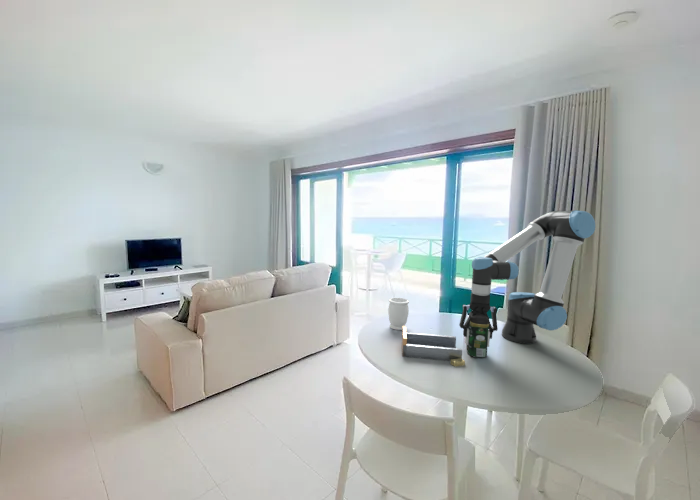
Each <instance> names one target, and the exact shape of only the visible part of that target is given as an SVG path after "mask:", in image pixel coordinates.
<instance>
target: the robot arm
mask: <svg viewBox="0 0 700 500" xmlns="http://www.w3.org/2000/svg"><path fill="white" fill-rule="evenodd" d="M595 221H596V220H595V218H594V217H593V215H592V214H591V213H590V212H589V211H585V210H577V209H575V210H553V211H549V212H547V213H544V214H543V215H540V216H538V217H537V218H535V219H534V220H532V221H530V222H529V223H528V224H527V225H526V228H524V229H523V230H522V231H519V232H517V234H515V235H514V236H512V237H511V238H509V239H508V240H506V241H505V242H503V243H502V244H501V245H499V246H497V247H496V248H495V249H493V250H492V251H490V252H489V253H487V254H486V255H484V256H477V257H474V259H473V260H471V261H472V262H471V268H472V274H471V275H472V277H471V293H470V303H469V304H467V305H466V304H462V313H461V316H460V317H461V318H460V320H459V327H460V328H461V329H463V331H462V332H463V333H462V334H463V337H464V343H465V345H466V346H467V345H468V340H469V329H468V327H469V325H470V317H469V316H468V317H467V313H468V311H469V309H470V310H471V311H470V312H471V313H470V312H469V313H470V314H471V316H473V315H476V314H478V313H480V314H483V315H485V316H487V317H489V315H488V312H489V311H490V312H491V320H492V321H490V320H489V329H488V344H487V348H488V347H490V340H491V339H492V338H493V333H494V332H497V331H498V321H497V319H498V318H497V311H498V308H497V307H496V306H491V304H490V303H491V302H490V301H491V295H490V294H491V291H492V290H491V289H492V288H491V287H492V281H494V280H496V281H499V280H502V281H503V280H504V281H505V280H506V281H509V280H514V279H516V278H517V277H518V275H519V270H520V269H519V265H517V264H516V263H515V262H511V261H509V260H510V259H512V258H513V257H514V256H516V255H517V254H519V253H521V252H522V251H524V250H525V249H526V248H529V246H530V245H532V244H534V243H536V242H537V241H542V240H543V239H545V238H548V237H552V239H553V242H554V244H553V247H552V251H551V253H550V257H549V261H548V263H547V266H546V270H545V273H544V277H543V279H542V283H541V284H540V285H541V287H540V289H539V291H538V292H537V293H533V292H525V291H524V292H523V291H514V292H513V291H512V292H511V293H509V295H508V300H507V312H506V314H507V315H506V322H505V324H504V326H503V328H502V330H501V336H502V337H503V338H505V339H506V340H508V341H511V342H515V343H518V344H526V345H528V344H535V343H536V342H537V333H536V330H535V327H534V325H535V326H537V327H538V328H540V329H544V330H546V331H556V330H558V329H560V328H561V327H562V326H563V325H564V324H565V323H566V321H567V318H568V314H567V311H566V309H565V308H564V305H565V301H564V300H563V299H562V297H563V293H564V291H565V288H566V285H567V281H568V278H569V275H570V272H571V270H572V266H573V263H574V260H575V257H576V253H577V250H578V248H579V246H581V245H583V244H584V242H585V239H588V238H590V237H591V236H592V235H594V233H595V231H596V222H595ZM466 318H467V319H466ZM491 322H492V324H491Z"/></svg>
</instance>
